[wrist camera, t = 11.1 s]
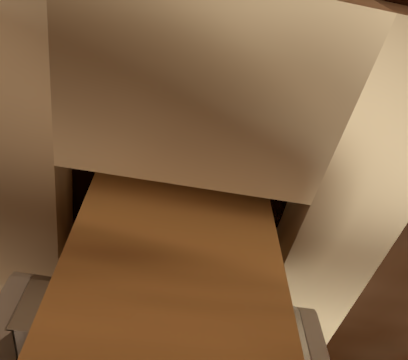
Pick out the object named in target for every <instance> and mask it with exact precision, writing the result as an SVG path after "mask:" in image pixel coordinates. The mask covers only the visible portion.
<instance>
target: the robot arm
mask: <svg viewBox="0 0 408 360" xmlns="http://www.w3.org/2000/svg"><path fill="white" fill-rule="evenodd" d="M50 280H51V277H50V276H43V275H37V274H30V273H22V272H15V271H14V272H13V273H12V274H11V275H10V276H9V277H8V279H7V281H6V283H5V285H4V287H3V288H2V290H1V292H0V360H17V359H18V357H19V354H20V352H21V349H22V347H23V345H24V342H25V340H26V337H27V335H28V333H29V330H30V328H31V325H32V323H33V321H34V318H35V316H36V313H37V311H38V309H39V306H40V304H41V301H42V299H43V297H44V294H45V292H46V289H47V287H48V285H49V282H50ZM293 309H294V313H295V318H296V323H297V327H298V332H299V337H300V341H301V346H302V351H303V355H304V360H330V357H329V353H328V350H327V346H326V343H325V339H324V336H323V332H322V329H321V325H320V321H319V318H318V314H317V312H316V311H315V309H311V308H302V307H295V306H293Z"/></svg>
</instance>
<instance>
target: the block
mask: <svg viewBox="0 0 408 360" xmlns="http://www.w3.org/2000/svg"><path fill="white" fill-rule="evenodd" d="M17 360H304V355H303V351H302V346H301V341H300V337H299V332H298V327H297V323H296V318H295V313H294V309H293V304H292V300H291V295H290V290H289V286H288V281H287V276H286V272H285V267H284V262H283V258H282V253H281V249H280V244H279V239H278V235H277V230H276V225H275V221H274V216H273V211H272V207H271V202H270V199H267V198H261V197H254V196H248V195H241V194H235V193H228V192H222V191H215V190H209V189H202V188H196V187H189V186H183V185H176V184H170V183H163V182H157V181H150V180H144V179H137V178H131V177H124V176H118V175H111V174H105V173H98V172H95V174H94V176H93V179H92V181H91V184H90V186H89V188H88V191H87V193H86V196H85V198H84V200H83V203H82V205H81V208H80V210H79V212H78V215H77V217H76V220H75V222H74V224H73V227H72V229H71V232H70V234H69V236H68V239H67V241H66V244H65V246H64V249H63V251H62V253H61V256H60V258H59V261H58V263H57V265H56V268H55V270H54V273H53V275H52V277H51V280H50V282H49V285H48V287H47V289H46V292H45V294H44V297H43V299H42V301H41V304H40V306H39V309H38V311H37V313H36V316H35V318H34V321H33V323H32V325H31V328H30V330H29V333H28V335H27V337H26V340H25V342H24V345H23V347H22V349H21V352H20V354H19V357H18V359H17Z"/></svg>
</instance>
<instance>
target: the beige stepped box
mask: <svg viewBox="0 0 408 360" xmlns="http://www.w3.org/2000/svg"><path fill="white" fill-rule="evenodd" d="M72 169H79V170H85V171H92V172H98V173H105V174H111V175H118V176H124V177H131V178H137V179H144V180H150V181H157V182H163V183H170V184H176V185H183V186H189V187H196V188H202V189H209V190H215V191H222V192H228V193H235V194H241V195H248V196H254V197H261V198H267V199H274V200H280V201H287V204H286V207H285V209H284V212H283V214H282V217H281V219H280V222H279V224H278V227H277V229H276V230H277V235H278V239H279V244H280V249H281V253H282V258H283V262H284V267H285V272H286V276H287V281H288V286H289V290H290V295H291V300H292V304H293V306H295V307H302V308H311V309H315V311H316V312H317V314H318V318H319V321H320V325H321V329H322V332H323V336H324V339H325V343H326V345H327V343H328V342H329V340H330V339H331V337H332V336H333V334H334V333H335V331H336V330H337V328H338V327H339V325H340V324H341V322H342V321H343V319H344V318H345V316H346V315H347V313H348V312H349V310H350V309H351V307H352V306H353V304H354V303H355V301H356V300H357V298H358V297H359V295H360V294H361V292H362V291H363V289H364V288H365V286H366V285H367V283H368V282H369V280H370V279H371V277H372V276H373V274H374V273H375V271H376V270H377V268H378V266H379V265H380V263H381V262H382V260H383V259H384V257H385V256H386V254H387V253H388V251H389V250H390V248H391V247H392V245H393V244H394V242H395V241H396V239H397V238H398V236H399V235H400V233H401V232H402V230H403V229H404V227H405V226H406V224H407V223H408V6H406V5H401V4H397V3H392V2H387V1H383V0H0V292H1V290H2V288H3V287H4V285H5V283H6V281H7V279H8V277H9V276H10V275H11V274H12V273H13V272H14V271H15V272H22V273H30V274H37V275H43V276H50V277H52V275H53V273H54V270H55V268H56V265H57V263H58V261H59V258H60V256H61V253H62V251H63V249H64V246H65V244H66V241H67V239H68V236H69V234H70V232H71V229H72V227H73V189H72Z"/></svg>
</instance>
